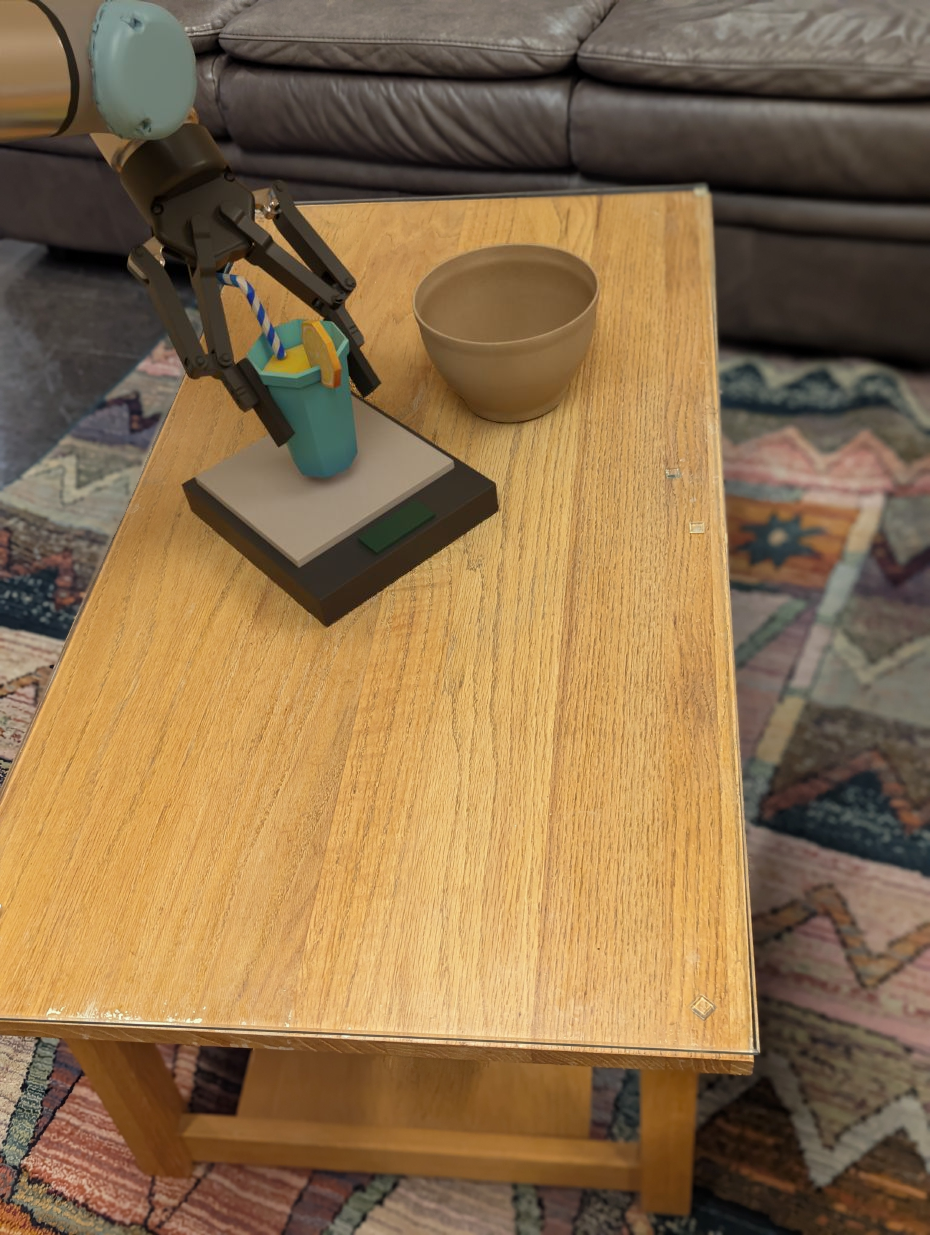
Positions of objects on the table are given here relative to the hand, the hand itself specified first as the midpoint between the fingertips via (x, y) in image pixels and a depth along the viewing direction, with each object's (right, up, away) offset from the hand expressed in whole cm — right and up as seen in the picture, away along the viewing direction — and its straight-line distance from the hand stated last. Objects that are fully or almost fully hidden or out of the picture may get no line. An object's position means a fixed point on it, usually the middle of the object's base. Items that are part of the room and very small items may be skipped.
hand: (330, 414), depth 82 cm
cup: (-2, -2, +6) cm, 7 cm away
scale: (0, -6, +9) cm, 11 cm away
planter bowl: (+15, +5, +18) cm, 24 cm away
